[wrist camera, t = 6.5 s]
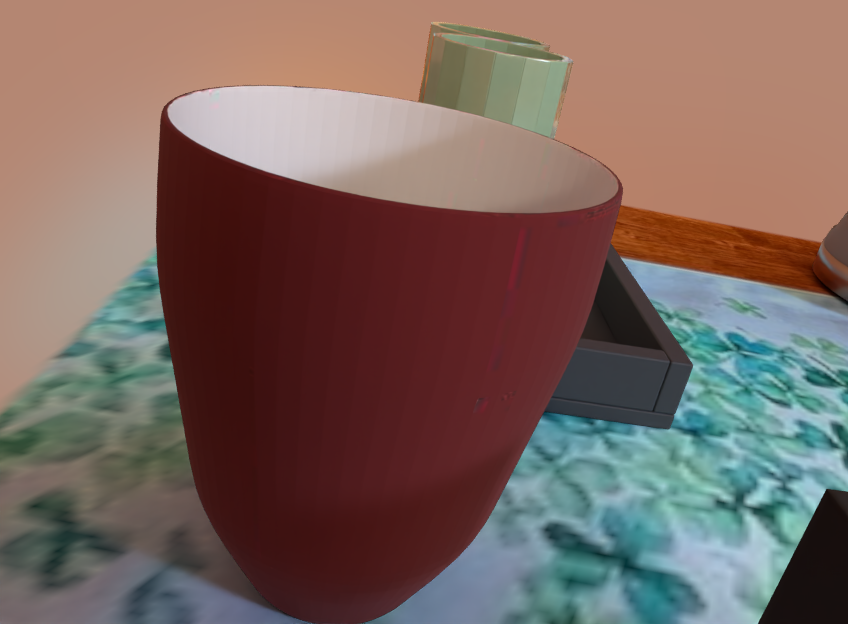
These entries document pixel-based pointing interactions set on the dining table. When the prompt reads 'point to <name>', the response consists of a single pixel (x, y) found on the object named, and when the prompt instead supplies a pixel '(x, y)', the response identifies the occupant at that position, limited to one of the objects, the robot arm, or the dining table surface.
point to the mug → (365, 325)
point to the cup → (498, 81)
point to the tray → (623, 358)
